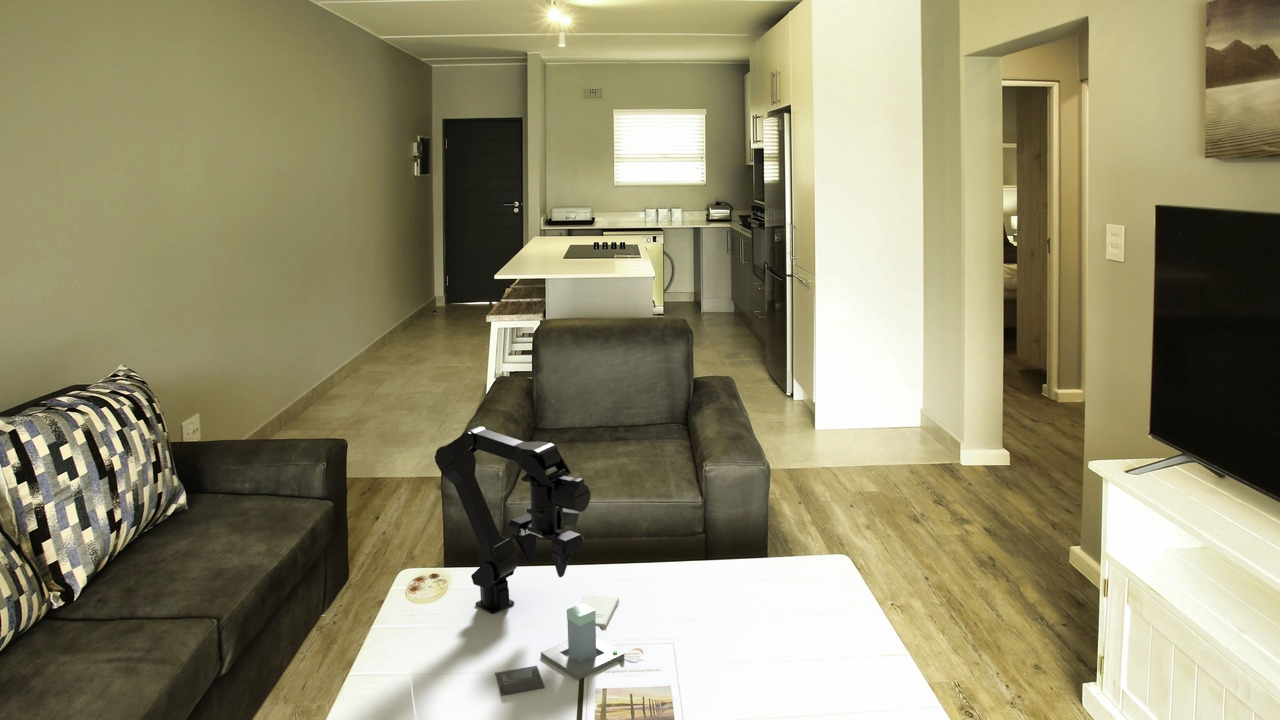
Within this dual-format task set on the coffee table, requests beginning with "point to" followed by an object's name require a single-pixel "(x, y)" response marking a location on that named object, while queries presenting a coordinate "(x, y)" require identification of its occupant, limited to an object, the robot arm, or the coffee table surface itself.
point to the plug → (581, 633)
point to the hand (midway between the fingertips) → (546, 570)
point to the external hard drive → (601, 607)
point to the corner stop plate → (519, 680)
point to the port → (580, 671)
